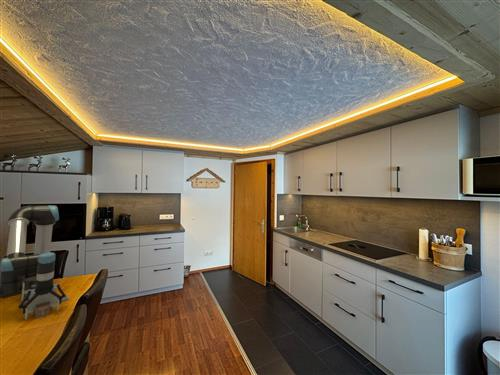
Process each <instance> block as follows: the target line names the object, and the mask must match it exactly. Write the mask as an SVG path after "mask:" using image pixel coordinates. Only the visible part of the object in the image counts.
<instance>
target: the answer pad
mask: <svg viewBox="0 0 500 375" xmlns="http://www.w3.org/2000/svg"><path fill="white" fill-rule="evenodd" d="M65 295H66V297H63V298H62V302H66V301H69V296H68V295H67V294H65ZM57 299H58V298H57V297H56V299H55V304H57ZM62 302H61V303H62Z"/></svg>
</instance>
